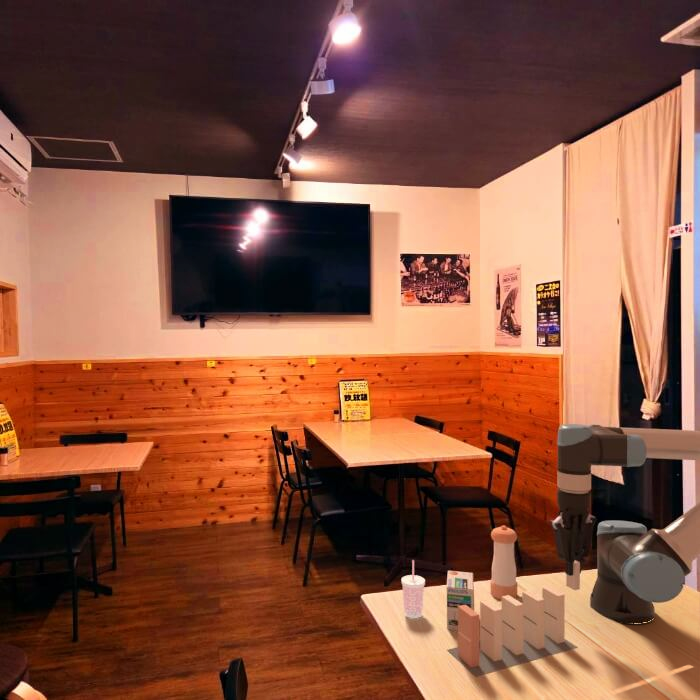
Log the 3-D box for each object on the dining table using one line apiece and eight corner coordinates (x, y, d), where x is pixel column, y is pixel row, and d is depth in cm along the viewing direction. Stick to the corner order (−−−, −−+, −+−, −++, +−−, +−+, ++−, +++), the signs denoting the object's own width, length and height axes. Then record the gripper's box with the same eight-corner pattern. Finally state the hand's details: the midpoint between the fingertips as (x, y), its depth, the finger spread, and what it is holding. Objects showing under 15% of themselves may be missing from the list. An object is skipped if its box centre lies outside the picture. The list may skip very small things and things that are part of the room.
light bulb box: (474, 634, 133) (474, 589, 133) (446, 631, 134) (446, 587, 134) (473, 613, 144) (473, 571, 144) (447, 610, 145) (447, 569, 145)
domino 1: (465, 653, 124) (465, 604, 123) (479, 665, 119) (479, 614, 119) (457, 655, 123) (457, 606, 123) (471, 667, 118) (471, 616, 118)
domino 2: (487, 647, 126) (487, 599, 126) (501, 659, 121) (502, 609, 121) (480, 649, 125) (480, 601, 125) (494, 661, 120) (494, 611, 120)
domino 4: (548, 631, 133) (549, 585, 133) (564, 641, 128) (564, 594, 128) (542, 633, 132) (542, 587, 132) (557, 643, 128) (557, 596, 128)
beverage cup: (398, 617, 141) (398, 563, 141) (405, 607, 147) (405, 554, 147) (421, 622, 139) (421, 566, 139) (427, 611, 145) (427, 558, 144)
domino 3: (529, 636, 131) (529, 590, 131) (544, 647, 126) (544, 599, 126) (522, 638, 130) (522, 591, 130) (537, 649, 125) (537, 600, 125)
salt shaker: (519, 591, 156) (519, 523, 156) (515, 602, 150) (515, 531, 149) (493, 586, 159) (493, 520, 159) (488, 597, 153) (488, 528, 152)
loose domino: (508, 642, 128) (508, 594, 128) (523, 653, 124) (523, 604, 124) (501, 644, 127) (501, 596, 127) (516, 655, 123) (516, 605, 123)
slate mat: (543, 627, 136) (543, 625, 136) (577, 649, 126) (577, 647, 126) (446, 652, 125) (446, 649, 125) (476, 679, 115) (476, 676, 115)
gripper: (582, 483, 139) (581, 577, 139) (541, 488, 134) (540, 585, 134) (606, 490, 132) (605, 589, 132) (564, 496, 127) (564, 598, 127)
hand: (572, 587), depth 133 cm, fingers closed
